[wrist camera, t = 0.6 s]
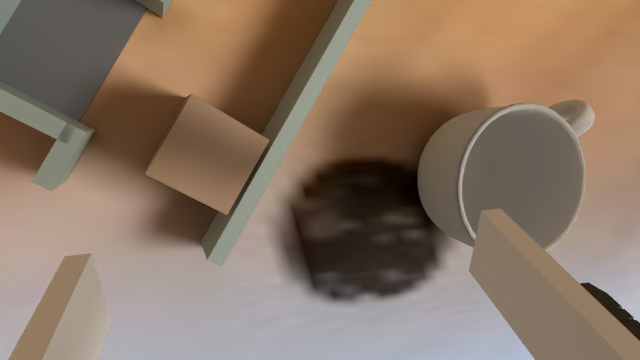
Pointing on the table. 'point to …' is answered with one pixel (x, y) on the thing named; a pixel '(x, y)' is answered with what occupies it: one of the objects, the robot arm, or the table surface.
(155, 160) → the block
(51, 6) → the box
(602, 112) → the table surface
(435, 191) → the teacup
